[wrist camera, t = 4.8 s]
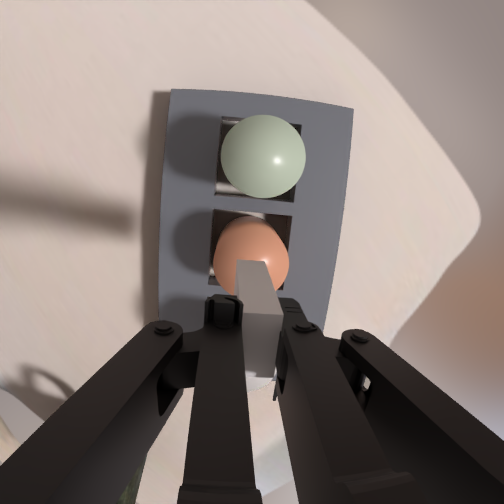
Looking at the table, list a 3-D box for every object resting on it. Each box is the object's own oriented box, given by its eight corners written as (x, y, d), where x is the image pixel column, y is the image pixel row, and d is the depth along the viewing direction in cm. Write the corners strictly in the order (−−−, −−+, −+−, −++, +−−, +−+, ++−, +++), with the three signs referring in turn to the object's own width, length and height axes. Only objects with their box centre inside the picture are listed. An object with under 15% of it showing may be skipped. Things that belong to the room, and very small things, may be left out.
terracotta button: (215, 273, 27) (211, 297, 22) (219, 213, 25) (215, 224, 21) (275, 278, 27) (284, 302, 22) (282, 219, 26) (293, 230, 21)
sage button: (221, 189, 24) (217, 194, 19) (227, 123, 22) (225, 111, 18) (288, 195, 24) (301, 202, 19) (294, 130, 23) (309, 120, 18)
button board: (164, 360, 29) (160, 371, 27) (176, 94, 23) (171, 88, 21) (307, 369, 30) (311, 381, 28) (345, 112, 24) (353, 108, 22)
